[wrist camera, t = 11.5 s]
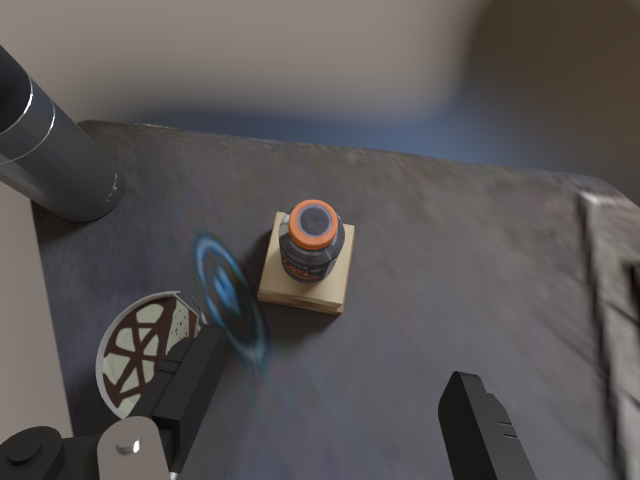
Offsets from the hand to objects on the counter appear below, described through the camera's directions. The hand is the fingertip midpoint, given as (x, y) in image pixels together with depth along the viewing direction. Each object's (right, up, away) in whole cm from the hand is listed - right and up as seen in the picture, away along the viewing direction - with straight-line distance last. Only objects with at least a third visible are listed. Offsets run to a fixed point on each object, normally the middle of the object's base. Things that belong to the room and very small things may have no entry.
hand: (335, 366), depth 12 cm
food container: (-18, -9, +28) cm, 35 cm away
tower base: (-2, +1, +32) cm, 32 cm away
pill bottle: (-2, +2, +27) cm, 27 cm away
